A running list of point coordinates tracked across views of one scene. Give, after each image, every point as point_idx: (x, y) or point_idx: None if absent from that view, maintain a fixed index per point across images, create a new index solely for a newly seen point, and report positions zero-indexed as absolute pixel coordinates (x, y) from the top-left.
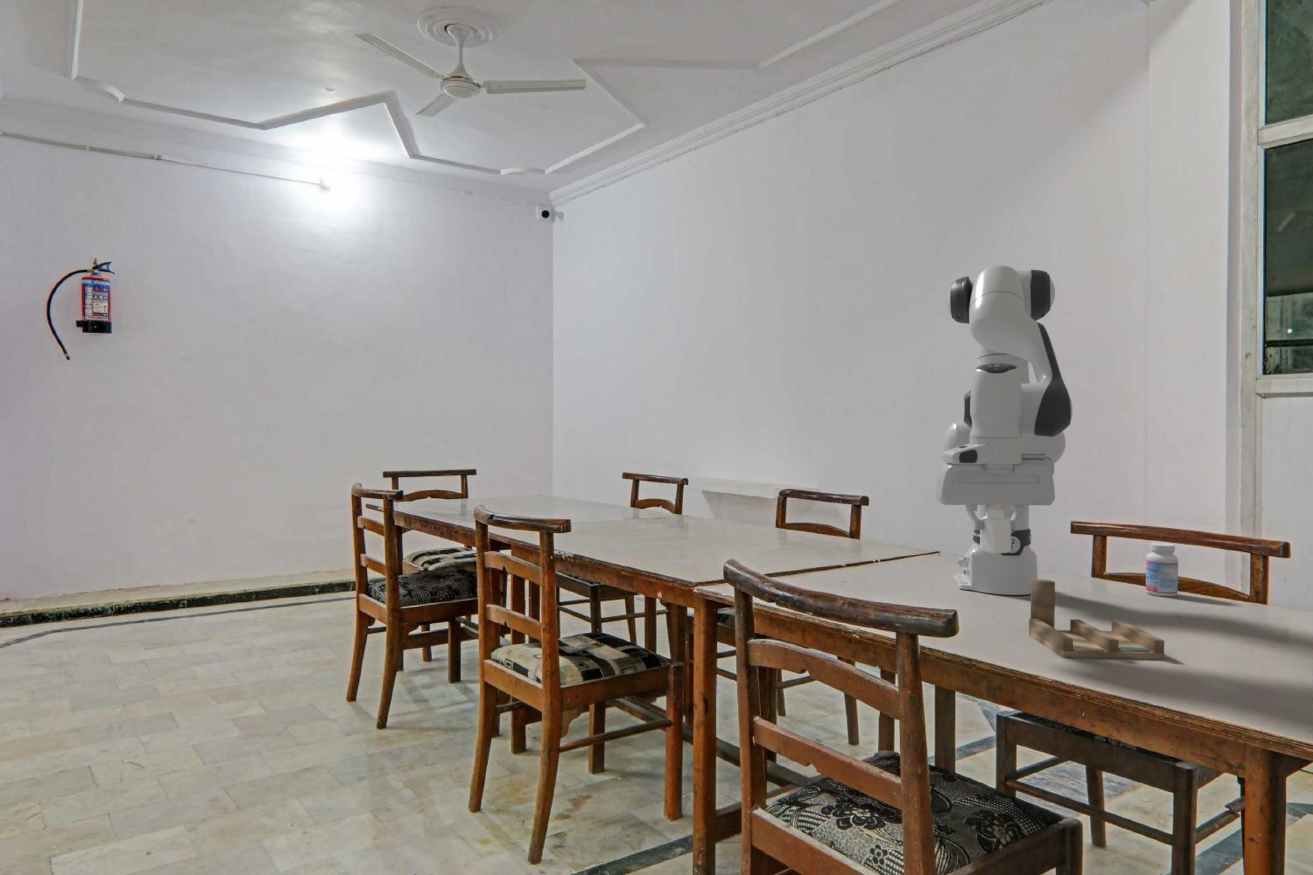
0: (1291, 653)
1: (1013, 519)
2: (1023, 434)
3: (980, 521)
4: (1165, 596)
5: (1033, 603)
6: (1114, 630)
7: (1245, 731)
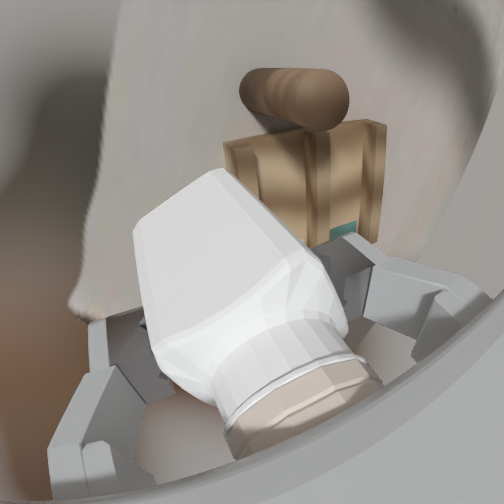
0: (462, 168)
1: (371, 307)
2: None
3: (156, 395)
4: None
5: (268, 106)
6: (365, 132)
7: None
